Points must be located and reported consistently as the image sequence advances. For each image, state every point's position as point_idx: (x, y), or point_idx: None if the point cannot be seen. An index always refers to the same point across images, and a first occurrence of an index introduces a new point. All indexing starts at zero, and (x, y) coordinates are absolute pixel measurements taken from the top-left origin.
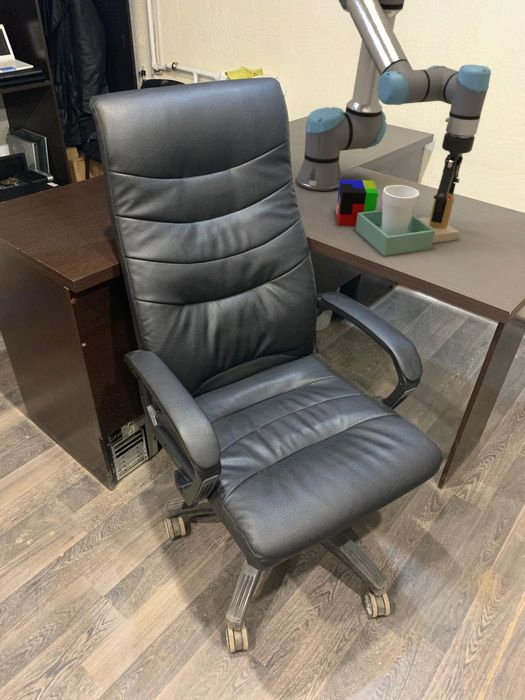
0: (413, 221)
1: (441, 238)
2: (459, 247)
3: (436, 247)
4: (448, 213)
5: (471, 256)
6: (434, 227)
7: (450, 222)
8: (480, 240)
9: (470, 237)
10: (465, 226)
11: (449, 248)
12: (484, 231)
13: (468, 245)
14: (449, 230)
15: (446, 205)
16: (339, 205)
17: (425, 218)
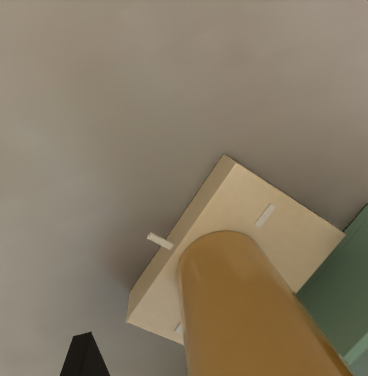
0: None
1: (298, 202)
2: (295, 108)
3: (347, 187)
4: (276, 285)
5: (361, 19)
6: None
7: (159, 240)
8: (149, 47)
9: (150, 107)
10: (39, 180)
11: (329, 141)
12: (13, 71)
13: (249, 79)
14: (254, 203)
15: (341, 356)
16: None
17: None
